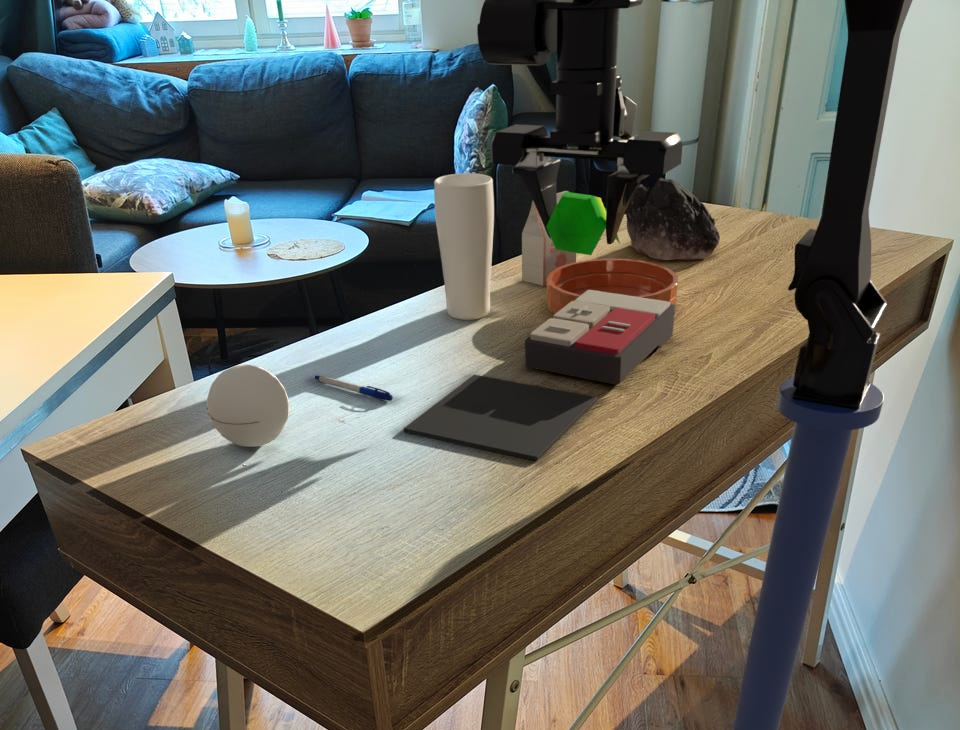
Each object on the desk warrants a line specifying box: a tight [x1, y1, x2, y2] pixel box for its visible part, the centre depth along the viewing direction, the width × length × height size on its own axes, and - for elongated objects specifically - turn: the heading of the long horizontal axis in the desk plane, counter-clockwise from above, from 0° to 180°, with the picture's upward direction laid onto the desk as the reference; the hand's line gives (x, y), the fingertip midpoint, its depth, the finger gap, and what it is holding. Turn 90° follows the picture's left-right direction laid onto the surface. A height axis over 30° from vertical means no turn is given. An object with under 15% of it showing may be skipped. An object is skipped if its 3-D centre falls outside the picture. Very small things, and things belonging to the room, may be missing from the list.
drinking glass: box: [433, 172, 495, 321], centre depth 105 cm, size 7×7×15 cm
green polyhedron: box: [546, 191, 621, 256], centre depth 93 cm, size 7×6×9 cm
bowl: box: [545, 258, 679, 315], centre depth 109 cm, size 16×16×4 cm
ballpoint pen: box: [314, 375, 394, 402], centre depth 92 cm, size 10×1×1 cm, turn 57°
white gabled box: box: [521, 190, 577, 287], centre depth 117 cm, size 4×7×10 cm, turn 136°
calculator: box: [524, 290, 676, 385], centre depth 96 cm, size 11×4×15 cm
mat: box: [403, 374, 598, 462], centre depth 87 cm, size 14×14×1 cm
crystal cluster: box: [625, 177, 721, 261], centre depth 125 cm, size 13×14×10 cm
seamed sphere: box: [193, 363, 290, 448], centre depth 81 cm, size 10×7×7 cm
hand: (581, 240), depth 95 cm, fingers closed on green polyhedron, 6 cm apart
